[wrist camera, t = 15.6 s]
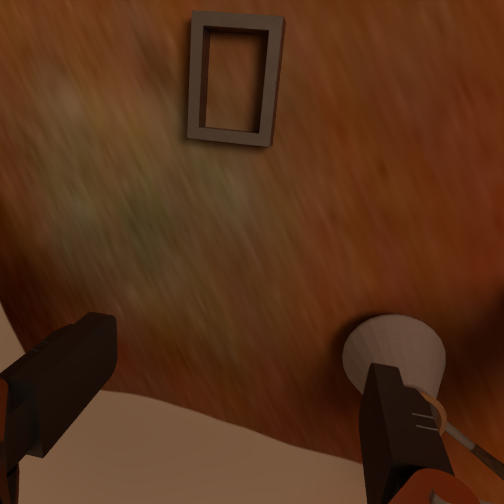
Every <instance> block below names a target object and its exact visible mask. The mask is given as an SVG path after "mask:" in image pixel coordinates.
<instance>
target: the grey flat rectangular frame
mask: <svg viewBox="0 0 504 504" xmlns="http://www.w3.org/2000/svg"><path fill="white" fill-rule="evenodd" d="M285 25H286V22H285V19H284V17H283V16H269V15H254V14H239V13H224V12H209V11H194V10H192V22H191V49H190V76H189V103H188V129H187V138H193V139H202V140H211V141H220V142H228V143H237V144H246V145H255V146H264V147H271V146H272V145H273V136H274V127H275V117H276V108H277V99H278V90H279V80H280V71H281V62H282V53H283V43H284V34H285ZM210 31H222V32H235V33H249V34H262V35H269V38H268V48H267V59H266V69H265V79H264V90H263V100H262V110H261V121H260V131H259V133H258V132H249V131H239V130H230V129H220V128H211V127H205V123H206V103H207V84H208V65H209V46H210Z"/></svg>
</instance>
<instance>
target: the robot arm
mask: <svg viewBox="0 0 504 504" xmlns="http://www.w3.org/2000/svg"><path fill="white" fill-rule="evenodd" d="M116 363H117V326H116V319H115V317H114V316H113V315H107V314H102V313H96V312H89V313H87V314H86V315H85V316H83V317H82V318H81V319H80V320H79V321H77V322H76V323H75V324H69V325H67V326H65V327H62V328H60V329H58V330H55V331H54V332H52V333H51V334H50V335H49V336H47V337H46V338H45V339H43V340H42V343H41V342H40V343H38V344H37V345H36V346H34V347H33V348H32V350H29V351H28V352H27V353H26V354H24V355H23V356H22V357H21V358H19V359H18V360H17V361H15V362H14V363H13V364H12V365H10V366H9V367H8V368H7V369H5V370H4V371H3V372H1V373H0V504H18V497H19V461H20V460H21V459H22V458H23V457H24V456H25V455H26V454H27V455H31V456H35V457H40V458H44V456H45V455H46V454H47V453H48V452H49V450H50V449H51V448H52V447H53V446H54V445H55V443H56V442H57V441H58V440H59V438H60V437H61V436H62V435H63V434H64V432H65V431H66V430H67V429H68V428H69V427H70V425H71V424H72V423H73V422H74V421H75V419H76V418H77V417H78V416H79V414H80V413H81V412H82V411H83V410H84V408H85V407H86V406H87V405H88V404H89V402H90V401H91V400H92V398H93V397H94V396H95V395H96V394H97V393H98V392H99V390H100V389H101V388H102V387H103V386H104V384H105V383H106V382H107V381H108V380H109V378H110V377H111V376H112V374H113V372H114V370H115V367H116ZM359 433H360V442H361V451H362V460H363V468H364V478H365V487H366V496H367V504H480V502H479V500H478V498H477V497H476V496H475V494H474V493H473V492H472V491H471V489H470V488H469V487H468V486H466V485H465V484H464V483H463V482H462V481H460V480H459V479H458V478H456V477H455V475H454V472H453V469H452V466H451V464H450V461H449V458H448V455H447V453H446V450H445V447H444V445H443V442H442V439H441V436H440V434H439V432H438V428H437V425H436V423H435V420H434V419H433V414H432V412H431V409H430V406H429V403H428V402H427V400H426V399H425V398H424V397H423V396H422V395H421V394H420V392H419V391H418V390H417V389H416V388H411V387H406V386H404V384H403V381H402V377H401V374H400V371H399V368H398V367H394V366H389V365H383V364H378V363H371V364H370V367H369V370H368V374H367V379H366V383H365V387H364V392H363V396H362V400H361V405H360V411H359Z"/></svg>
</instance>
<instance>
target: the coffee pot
mask: <svg viewBox="0 0 504 504" xmlns="http://www.w3.org/2000/svg"><path fill="white" fill-rule="evenodd" d="M342 360H343V367H344V370H345V372H346V374H347V377H348V379H349V380H350V381H351V382H352V383H353V385H354V386H355V387H356V388H357V389H358V390H359V391H360V392H361V394H362V395H363V392H364V387H365V383H366V379H367V374H368V370H369V367H370V364H371V363H378V364H383V365H389V366H394V367H398V368H399V371H400V374H401V377H402V381H403V384H404V386H406V387H411V388H416V389H417V390H418V391H419V392H420V394H421V395H422V396H423V397H424V398H425V399H426V400H427V402H428V403H429V406H430V409H431V412H432V414H433V419H434V420H435V423H436V425H437V428H438V432H439V434H440V436H441V435H442V434H443V433H444V431H446V432H447V433H448V434H450V435H451V436H452V437H454V438H455V439H456V440H458V441H459V442H460V443H461V444H463V445H464V446H465V447H467V448H468V449H469V450H470V451H471V452H472V453H473V454H474V455H475V456H476V457H477V458H479V459H480V460H481V461H482V462H483V463H484V464H485V465H487V466H488V467H489V468H490V469H491V470H492V471H493V472H494V473H496V474H497V475H498V476H499V477H500V478H501V479H502V480H504V464H503V463H501V462H500V461H499V460H497V459H496V458H494V457H493V456H492V455H490V454H489V453H488V452H486V451H485V450H483V449H482V448H481V447H479V446H478V445H477V444H474V443H473V442H472V441H470V440H469V439H468V438H467V437H466V436H464V435H463V434H462V433H461V432H460V431H458V430H457V429H456V428H455V427H454V426H452V425H451V424H450V423H449V422H448V421H447V415H446V412H445V409H444V407H443V406H442V405H441V404H440V402H439V401H438V400H436V398H437V394H438V391H439V387H440V383H441V380H442V376H443V373H444V369H445V366H446V352H445V349H444V346H443V343H442V341H441V339H440V338H439V336H438V335H437V334H436V333H435V331H434V330H433V329H432V328H430V327H429V326H428V325H426V324H425V323H424V322H422V321H420V320H417V319H415V318H412V317H410V316H406V315H400V314H383V315H379V316H376V317H372V318H370V319H368V320H366V321H365V322H363V323H361V324H360V325H359V326H358V327H357V328H356V329H355V330H354V331H353V332H352V333H351V334H350V335H349V337H348V339H347V341H346V342H345V344H344V349H343V354H342Z"/></svg>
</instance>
